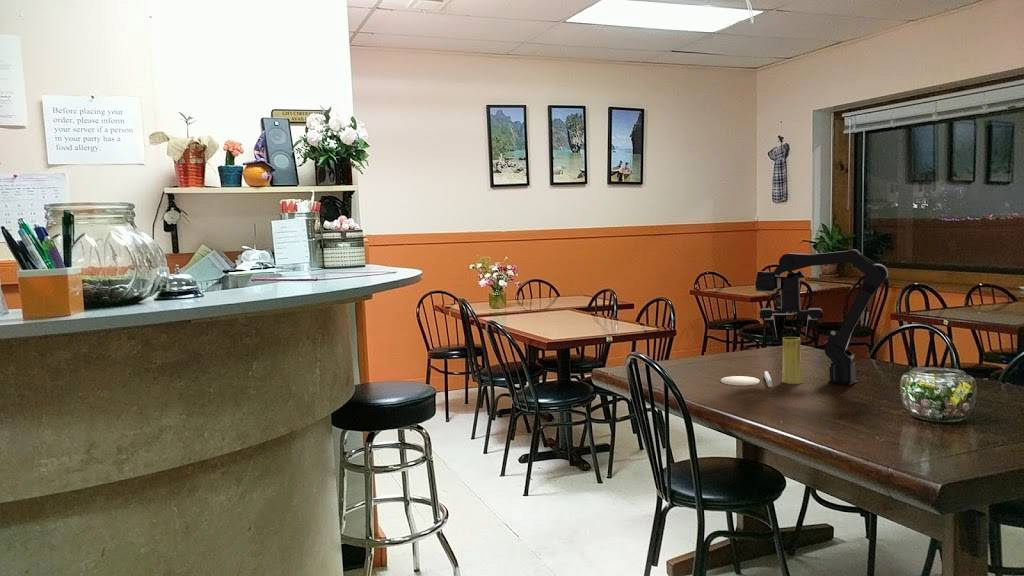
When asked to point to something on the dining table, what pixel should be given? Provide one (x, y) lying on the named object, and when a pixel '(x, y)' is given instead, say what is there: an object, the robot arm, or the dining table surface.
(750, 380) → the mat
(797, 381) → the vase
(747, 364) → the dining table surface
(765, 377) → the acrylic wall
